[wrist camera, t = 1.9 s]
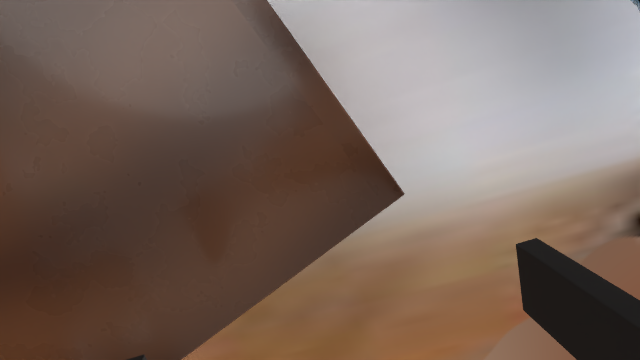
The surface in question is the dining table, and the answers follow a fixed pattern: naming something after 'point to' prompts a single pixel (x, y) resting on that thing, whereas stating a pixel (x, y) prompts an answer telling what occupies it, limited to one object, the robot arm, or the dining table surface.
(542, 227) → the dining table surface
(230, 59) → the open box
